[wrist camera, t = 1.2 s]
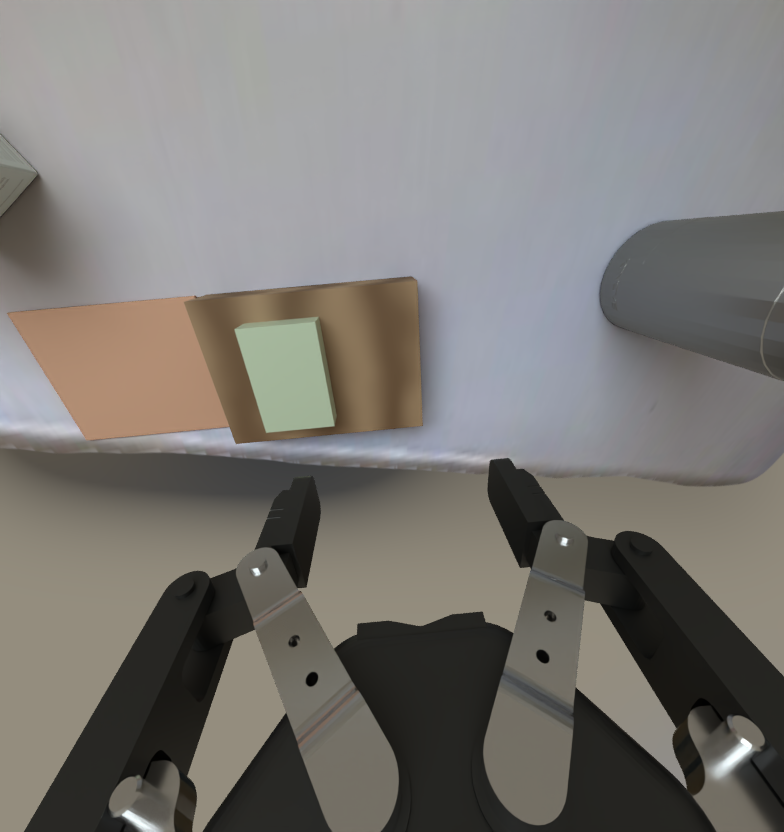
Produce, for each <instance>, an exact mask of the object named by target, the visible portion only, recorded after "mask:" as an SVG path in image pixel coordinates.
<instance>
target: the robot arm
mask: <svg viewBox="0 0 784 832" xmlns="http://www.w3.org/2000/svg"><path fill="white" fill-rule="evenodd" d="M600 299H601V306H602V309H603V312H604V314H605V315H606V317H607V318H608V320H609V321H611V322H612V323H613V324H614V325H616V326H619V327H621V328H624V329H627V330H630V331H633V332H636V333H639V334H642V335H645V336H648V337H650V338H653V339H656V340H659V341H662V342H666V343H669V344H672V345H675V346H678V347H681V348H684V349H687V350H690V351H693V352H696V353H699V354H702V355H705V356H708V357H711V358H714V359H717V360H720V361H723V362H726V363H729V364H732V365H735V366H739V367H742V368H745V369H748V370H751V371H754V372H757V373H760V374H763V375H766V376H769V377H772V378H775V379H778V380H781V381H784V211H779V212H767V213H755V214H743V215H731V216H719V217H704V218H693V219H682V220H671V221H661V222H658V223H655V224H652V225H649V226H647V227H646V228H644V229H642V230H640V231H638V232H637V233H636V234H634V235H633V236H632V237H630V238H629V239H628V240H627V241H626V242H625V243H624V244H623V245H622V246H621V247H620V248H619V249H618V251H617V252H616V254H615V255H614V256H613V258H612V259H611V261H610V263H609V265H608V267H607V269H606V271H605V274H604V277H603V280H602V283H601V291H600ZM488 497H489V500H490V503H491V505H492V507H493V510H494V512H495V514H496V516H497V518H498V520H499V522H500V525H501V527H502V529H503V532H504V534H505V536H506V538H507V540H508V543H509V545H510V547H511V549H512V551H513V554H514V556H515V558H516V560H517V562H518V565H519V567H520V568H524V567H530V568H531V571H530V575H529V578H528V582H527V585H526V589H525V593H524V597H523V600H522V604H521V608H520V611H519V615H518V619H517V623H516V627H515V630H514V633H512V632H510V631H509V630H507V629H505V628H502V627H500V626H498V625H495V624H491V623H486V622H485V618H484V615H483V612H473V613H463V614H453V615H450V616H447V617H444V618H442V619H440V620H437V621H434V622H432V623H429V624H427V625H424V626H415V625H409V624H404V623H398V622H392V621H381V622H370V623H360V624H358V625H357V635H355V636H352V637H350V638H349V639H347V640H345V641H343V642H342V643H341V644H339V645H338V646H337V647H336V648H333V647H332V645H331V643H330V641H329V639H328V638H327V636H326V634H325V632H324V631H323V629H322V627H321V625H320V623H319V622H318V620H317V618H316V616H315V615H314V613H313V611H312V609H311V608H310V606H309V604H308V602H307V600H306V598H305V597H304V595H303V594H302V592H301V591H298V589H297V588H305V587H307V582H308V576H309V572H310V567H311V561H312V557H313V551H314V546H315V541H316V536H317V531H318V526H319V521H320V514H321V510H320V509H321V508H320V501H319V497H318V493H317V489H316V485H315V480H314V478H313V476H304V477H295V478H294V480H293V482H292V485H291V488H290V490H283V491H282V492H281V493H280V494H279V495H278V496H277V497H276V498H275V500H274V502H273V504H272V507H271V511H270V512H269V515H268V517H267V520H266V522H265V525H264V528H263V530H262V532H261V535H260V538H259V540H258V543H257V545H256V548H255V550H254V551H252V552H250V553H249V554H247V555H246V556H245V557H244V558H243V559H242V560H241V561H240V563H239V564H238V566H237V568H236V569H234V570H231V571H229V572H226V573H224V574H221V575H218V576H215V577H213V578H209V576H208V574H207V573H205V572H203V571H193V572H190V573H187V574H184V575H183V576H181V577H179V578H178V579H176V580H175V581H174V582H173V583H171V584H170V585H169V586H168V588H167V589H166V590H165V592H164V593H163V595H162V597H161V598H160V600H159V602H158V603H157V606H156V607H155V608H154V610H153V612H152V614H151V615H150V617H149V619H148V621H147V622H146V624H145V626H144V627H143V629H142V631H141V632H140V634H139V636H138V638H137V639H136V641H135V643H134V644H133V646H132V648H131V650H130V651H129V653H128V655H127V656H126V658H125V660H124V662H123V663H122V665H121V667H120V668H119V670H118V672H117V673H116V675H115V677H114V679H113V680H112V682H111V684H110V686H109V687H108V689H107V691H106V692H105V694H104V696H103V697H102V699H101V701H100V703H99V704H98V706H97V708H96V709H95V711H94V713H93V715H92V716H91V718H90V720H89V722H88V723H87V725H86V727H85V728H84V730H83V732H82V733H81V735H80V737H79V738H78V740H77V742H76V744H75V745H74V747H73V749H72V750H71V752H70V754H69V756H68V757H67V759H66V761H65V763H64V764H63V766H62V768H61V769H60V771H59V773H58V775H57V776H56V778H55V780H54V782H53V783H52V785H51V786H50V788H49V790H48V792H47V793H46V795H45V797H44V798H43V800H42V802H41V804H40V805H39V807H38V809H37V810H36V812H35V814H34V815H33V817H32V819H31V821H30V822H29V824H28V826H27V828H26V829H25V831H24V832H192V826H193V819H194V815H195V809H196V803H197V792H196V787H195V785H194V783H193V782H192V780H191V779H190V778H188V777H187V775H188V772H189V769H190V766H191V763H192V760H193V757H194V754H195V751H196V748H197V745H198V742H199V739H200V736H201V733H202V730H203V727H204V724H205V722H206V718H207V716H208V713H209V710H210V707H211V703H212V701H213V698H214V695H215V692H216V689H217V686H218V683H219V680H220V677H221V674H222V671H223V668H224V665H225V662H226V659H227V656H228V654H229V650H230V648H231V645H232V641H233V639H234V638H237V637H239V636H241V635H244V634H246V633H248V632H250V631H253V630H256V633H257V636H258V638H259V641H260V644H261V646H262V649H263V651H264V654H265V657H266V660H267V662H268V665H269V667H270V670H271V673H272V676H273V678H274V680H275V684H276V686H277V688H278V692H279V694H280V697H281V700H282V702H283V705H284V708H285V710H286V714H285V715H284V716H283V718H282V719H281V721H280V722H279V724H278V725H277V726H276V728H275V729H274V731H273V732H272V733H271V735H270V736H269V738H268V739H267V741H266V742H265V743H264V745H263V746H262V748H261V749H260V750H259V752H258V753H257V755H256V756H255V757H254V759H253V760H252V762H251V763H250V765H249V766H248V767H247V769H246V770H245V772H244V773H243V774H242V776H241V777H240V779H239V780H238V781H237V783H236V784H235V786H234V787H233V789H232V790H231V791H230V793H229V794H228V796H227V797H226V798H225V800H224V801H223V803H222V804H221V806H220V807H219V808H218V810H217V811H216V813H215V814H214V815H213V817H212V818H211V819H210V821H209V822H208V824H207V826H206V827H205V829H204V830H203V832H784V676H783V675H782V674H781V673H780V672H779V671H778V670H777V669H776V668H775V667H774V666H773V665H772V663H771V662H769V660H768V659H767V658H766V657H765V656H764V655H763V654H762V653H761V652H760V651H759V650H758V648H757V647H756V646H755V645H754V644H753V643H752V642H751V641H750V640H749V639H748V638H747V637H746V636H745V635H744V633H743V632H742V631H741V630H740V629H739V628H738V627H737V626H736V625H735V624H734V623H733V622H732V621H731V620H730V618H728V616H727V615H726V614H725V613H724V612H723V611H722V610H721V609H720V608H719V607H718V606H717V605H716V604H715V602H713V600H711V598H710V597H709V596H708V595H707V594H706V593H705V592H704V591H703V590H702V589H701V587H700V586H698V584H697V583H696V582H695V581H694V580H693V579H692V578H691V577H690V576H689V575H688V574H687V573H686V571H685V570H684V569H683V568H682V567H681V566H680V565H679V564H678V563H677V562H676V561H675V560H674V559H673V557H672V556H671V555H670V554H669V553H668V552H667V551H666V550H665V549H664V548H663V547H662V546H661V545H660V544H659V543H658V542H656V541H655V540H654V539H652V538H650V537H648V536H646V535H644V534H641V533H638V532H632V531H624V532H621V533H619V534H617V535H616V538H615V540H614V541H612V540H606V539H600V538H594V537H589V536H586V535H585V534H584V532H583V531H582V530H581V529H580V528H578V527H577V526H575V525H574V524H572V523H569V522H566V521H564V520H563V518H562V517H561V515H560V514H559V513H558V511H557V510H556V508H555V507H554V505H553V504H552V502H551V501H550V499H549V498H548V497H547V496H546V494H545V492H544V491H543V489H542V488H541V487H540V486H539V484H538V482H537V481H536V479H535V478H534V476H532V475H531V474H530V473H528V472H527V471H525V470H524V469H516V468H515V466H514V464H513V463H512V461H511V460H510V459H509V458H505V459H494V460H491V461H490V464H489V477H488ZM585 600H587V601H591V602H596V603H600V604H601V606H602V607H603V609H604V610H605V612H606V614H607V616H608V617H609V619H610V620H611V622H612V624H613V625H614V627H615V628H616V630H617V632H618V633H619V635H620V637H621V638H622V640H623V641H624V643H625V645H626V646H627V648H628V650H629V651H630V653H631V655H632V656H633V658H634V660H635V661H636V663H637V664H638V666H639V668H640V669H641V671H642V672H643V674H644V676H645V677H646V679H647V681H648V682H649V684H650V686H651V687H652V689H653V691H654V692H655V694H656V696H657V697H658V699H659V700H660V702H661V704H662V705H663V707H664V709H665V710H666V712H667V713H668V715H669V716H670V718H671V720H672V722H673V723H674V725H675V727H676V728H677V729H676V730H675V732H674V734H673V738H672V742H673V743H672V744H673V749H674V753H675V756H676V758H677V760H678V763H679V765H680V767H681V769H682V771H683V774H684V777H685V780H686V785H687V789H686V788H685V787H684V786H683V785H682V784H681V783H680V781H679V780H678V779H677V778H675V776H674V775H673V774H671V773H670V772H669V771H668V770H667V769H666V768H665V767H664V766H663V765H662V764H660V763H659V762H658V761H657V760H656V759H655V758H654V757H653V756H652V755H650V754H649V753H648V752H647V751H646V750H645V749H644V748H643V747H641V746H640V745H639V744H638V743H637V742H636V741H635V740H634V739H633V738H632V737H630V736H629V735H628V734H627V733H626V732H625V731H624V730H622V729H621V728H620V727H619V726H618V725H617V724H616V723H615V722H614V721H613V720H611V719H610V718H609V717H608V716H607V715H606V714H605V713H604V712H603V711H601V710H600V709H599V708H598V707H597V706H596V705H595V704H594V703H593V702H591V701H590V700H589V699H588V698H587V697H586V696H585V695H584V694H583V693H581V692H580V691H579V690H578V689H577V688H576V677H577V668H578V658H579V649H580V639H581V630H582V619H583V610H584V601H585Z"/></svg>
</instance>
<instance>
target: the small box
mask: <svg viewBox="0 0 784 832" xmlns="http://www.w3.org/2000/svg"><path fill="white" fill-rule="evenodd" d="M37 175H38V173H37V172H36V171H35V170H34V169H33V167H32V166H31V165H30V164H29V163H28V162H27V161H26V160H25V159H24V158H23V157H22V156H21V155H20V154H19V153H18V152H17V151H16V150H15V149H14V148H13V147H12V146H11V145H10V144H9V143H8V142H7V141H6V140H5V139H4V137H3V136H2V135H1V134H0V217H1V215H2V214H3V213H4V212H5V211H6V210H7V209H8V208H9V207H10V205H11V204H12V203H13V202H14V201H15V200H16V199H17V198H18V196H19V195H20V194H21V193H22V192H23V191H24V189H25V188H26V187H27V186H28V185H29V184H30V183H31V182H32V181H33V179H34V178H35V177H36V176H37Z"/></svg>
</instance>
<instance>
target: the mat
mask: <svg viewBox="0 0 784 832" xmlns="http://www.w3.org/2000/svg"><path fill="white" fill-rule="evenodd" d="M195 298H196V296H188V297H177V298H166V299H155V300H143V301H132V302H121V303H110V304H99V305H88V306H76V307H65V308H54V309H43V310H32V311H21V312H10V313H7V314H8V316H9V317H10V319H11V320H12V322H13V324H14V325H15V327H16V328H17V330H18V332H19V333H20V335H21V336H22V338H23V340H24V341H25V343H26V344H27V346H28V347H29V349H30V351H31V352H32V354H33V355H34V357H35V359H36V360H37V362H38V363H39V365H40V367H41V368H42V370H43V371H44V373H45V375H46V376H47V378H48V379H49V381H50V383H51V384H52V386H53V387H54V389H55V391H56V392H57V394H58V395H59V397H60V399H61V400H62V402H63V403H64V405H65V407H66V408H67V410H68V411H69V413H70V415H71V416H72V418H73V419H74V421H75V423H76V424H77V426H78V427H79V429H80V430H81V432H82V434H83V435H84V437H85V438H86V440H96V439H106V438H117V437H127V436H138V435H148V434H159V433H169V432H179V431H190V430H200V429H211V428H221V427H229V424H228V421H227V419H226V416H225V413H224V410H223V408H222V405H221V402H220V399H219V397H218V394H217V391H216V389H215V386H214V383H213V380H212V378H211V375H210V372H209V370H208V367H207V364H206V361H205V359H204V356H203V353H202V351H201V348H200V345H199V342H198V340H197V337H196V334H195V331H194V329H193V326H192V323H191V321H190V318H189V315H188V312H187V310H186V307H185V304H184V302H185V301H188V300H192V299H195Z"/></svg>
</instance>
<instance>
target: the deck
mask: <svg viewBox="0 0 784 832" xmlns="http://www.w3.org/2000/svg"><path fill="white" fill-rule="evenodd" d="M184 304H185V307H186V310H187V312H188V315H189V318H190V321H191V323H192V326H193V329H194V331H195V334H196V337H197V340H198V342H199V345H200V348H201V351H202V353H203V356H204V359H205V361H206V364H207V367H208V370H209V372H210V375H211V378H212V380H213V383H214V386H215V389H216V391H217V394H218V397H219V399H220V402H221V405H222V408H223V410H224V413H225V416H226V419H227V421H228V424H229V427H230V429H231V432H232V435H233V438H234V440H235V443H236V444H240V443H250V442H261V441H271V440H281V439H292V438H302V437H312V436H323V435H333V434H343V433H354V432H364V431H374V430H385V429H395V428H405V427H416V426H423V423H422V396H421V369H420V342H419V315H418V288H417V280H415V279H414V278H413V277H400V278H389V279H378V280H367V281H356V282H344V283H333V284H322V285H311V286H300V287H289V288H277V289H266V290H255V291H244V292H233V293H222V294H210V295H205V296H201V297H198V298H195V299H192V300H188V301H185V302H184ZM311 317H319V320H320V326H321V331H322V337H323V342H324V348H325V353H326V359H327V365H328V370H329V376H330V381H331V387H332V392H333V398H334V403H335V409H336V414H337V417H336V422H335V426H332V427H321V428H311V429H301V430H290V431H280V432H269V433H266V431H265V427H264V424H263V421H262V418H261V414H260V411H259V408H258V405H257V401H256V398H255V395H254V392H253V388H252V385H251V382H250V379H249V375H248V372H247V369H246V366H245V362H244V359H243V356H242V353H241V350H240V346H239V343H238V340H237V337H236V333H235V330H234V329H236V328H237V327H239V326H241V325H242V324H245V323H256V322H267V321H278V320H289V319H300V318H311Z"/></svg>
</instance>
